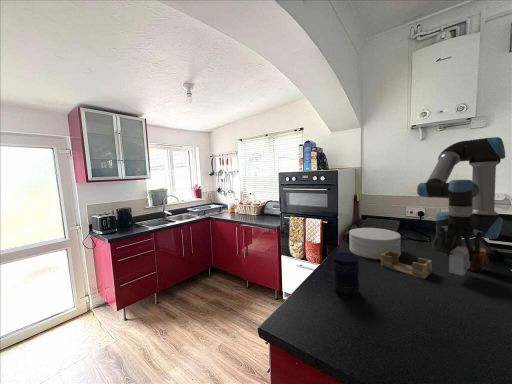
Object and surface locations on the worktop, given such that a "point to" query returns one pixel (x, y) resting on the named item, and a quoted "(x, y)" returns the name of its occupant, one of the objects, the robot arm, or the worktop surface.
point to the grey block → (458, 261)
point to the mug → (478, 260)
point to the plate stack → (374, 242)
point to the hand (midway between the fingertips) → (460, 265)
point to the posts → (417, 269)
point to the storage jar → (346, 274)
